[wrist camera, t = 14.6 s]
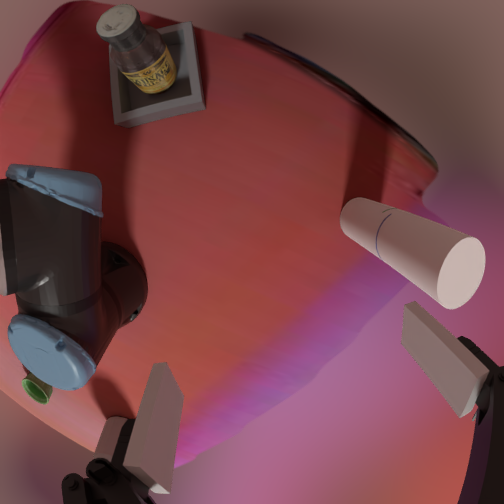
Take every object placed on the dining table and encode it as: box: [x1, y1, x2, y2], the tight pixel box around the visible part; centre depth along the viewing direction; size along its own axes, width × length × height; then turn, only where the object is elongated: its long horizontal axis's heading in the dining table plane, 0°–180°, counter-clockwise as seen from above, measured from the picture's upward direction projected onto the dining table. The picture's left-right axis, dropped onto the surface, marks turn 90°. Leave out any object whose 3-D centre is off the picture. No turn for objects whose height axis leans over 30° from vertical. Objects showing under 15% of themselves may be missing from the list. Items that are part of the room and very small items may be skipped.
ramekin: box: [22, 372, 52, 404], centre depth 49 cm, size 9×9×4 cm
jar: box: [94, 416, 128, 462], centre depth 48 cm, size 10×10×18 cm
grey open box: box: [109, 21, 206, 128], centre depth 32 cm, size 12×13×6 cm
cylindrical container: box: [340, 197, 485, 309], centre depth 32 cm, size 7×7×25 cm
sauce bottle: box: [96, 4, 177, 95], centre depth 25 cm, size 7×6×20 cm
